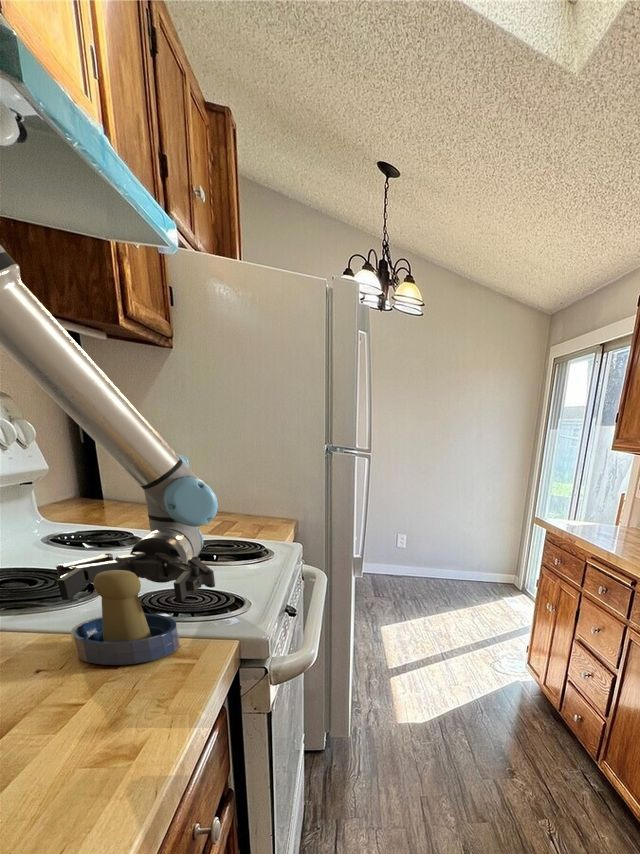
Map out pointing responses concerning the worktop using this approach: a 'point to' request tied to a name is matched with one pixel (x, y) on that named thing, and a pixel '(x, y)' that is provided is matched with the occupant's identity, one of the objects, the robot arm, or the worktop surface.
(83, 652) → the bowl
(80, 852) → the worktop surface
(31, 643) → the worktop surface
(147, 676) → the worktop surface
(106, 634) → the cork
